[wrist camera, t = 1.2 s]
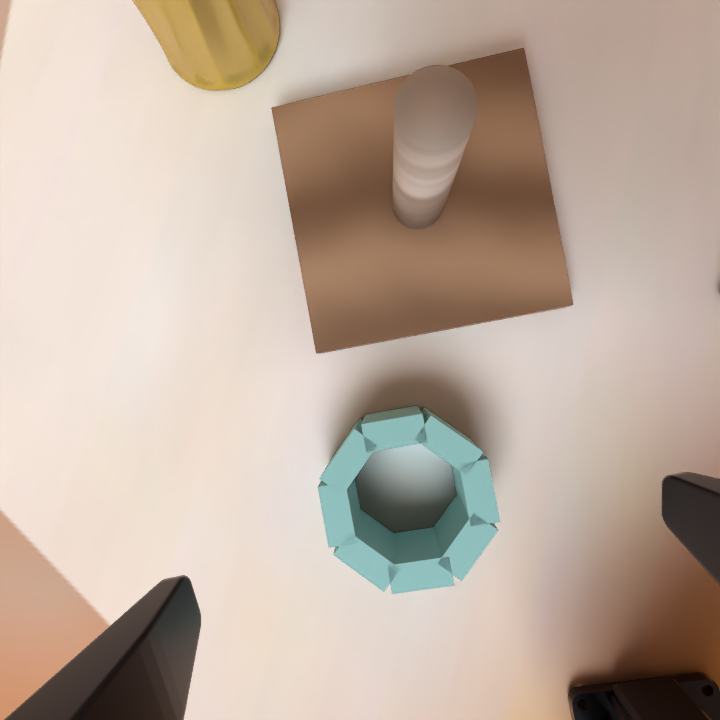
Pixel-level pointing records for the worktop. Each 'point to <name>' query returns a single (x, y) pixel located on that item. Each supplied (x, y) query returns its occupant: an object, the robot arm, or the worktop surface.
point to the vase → (214, 38)
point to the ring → (415, 547)
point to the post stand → (422, 203)
